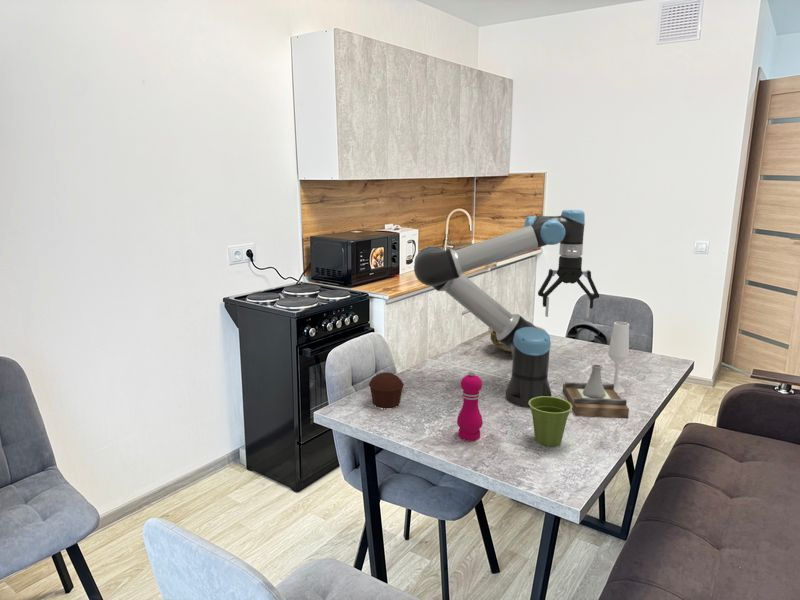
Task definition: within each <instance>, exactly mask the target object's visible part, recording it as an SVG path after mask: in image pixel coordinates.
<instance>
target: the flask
mask: <svg viewBox="0 0 800 600" xmlns="http://www.w3.org/2000/svg"><path fill="white" fill-rule="evenodd" d="M591 368H592V369H591V373H590V377H589V379H588V381H587V382H586V383H587V384H586V386H585V388H584V390H583V393H584V395H586V396H589V397H593V398H603V397H605V396H606V394H605V391H604V387H603V384H604V383H603V380H602V373H601V372H602V368H603V366H602V365H601V364H597V363H593V364H591Z"/></svg>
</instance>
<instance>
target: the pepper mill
mask: <svg viewBox="0 0 800 600" xmlns="http://www.w3.org/2000/svg"><path fill="white" fill-rule="evenodd" d="M482 387H483V381H482V379H481V377H479V376H478V375H476V372H475V371H474V370H473V369H470V370H469V371H468V374H466V375H465V376H463V377H462V378H461V380H460V388H461V389H462V391H461V396H462V398H463V403H462V406H461V409H460V412H459V413H458V415H457V418H456V419H457V420H456V424H457V426H458V427H459V428H458V431H457V433H458V437H459V439H461V440H464V441H467V440H468V442H473V441H478V440H479V439H480V438H481V430H480V429H481V428H482V427H483V417H482V414H481V412H480V408H479V399H480V398H481V392H480V391H481V390H482ZM477 439H478V440H477Z"/></svg>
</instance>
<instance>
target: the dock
mask: <svg viewBox="0 0 800 600" xmlns="http://www.w3.org/2000/svg"><path fill="white" fill-rule="evenodd" d="M586 384H587V382H568V381H567V382H564V383H562V391H561V392H562V393H563V396H564V398H565V400H566V401H568V402H570V403H571V404H572V410H571V411H573V414H574V415H575V416H576V417H594V418H598V417H599V418H617V419H618V418H621V419H629V413H630V408H629V406H628V405H627V403H628V401H627V399H626V398H625V399H624V398H623V399H622V398H621V397H620V396H619V393H616V392H615V391H614V385H613V384H614V383H602V384H603V387H604V391H605V394H606V396H605V397H603V398H593V397H589V396H586V395H584V393H583V390H584V388H585V386H586Z"/></svg>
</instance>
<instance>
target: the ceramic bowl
mask: <svg viewBox="0 0 800 600" xmlns="http://www.w3.org/2000/svg"><path fill="white" fill-rule="evenodd" d="M534 326H535V327H536V328H539V329H541V330H544V331H546V329H545V328H542V327H539V326H536V325H534ZM488 331H489V333H490V340H491V342H492V343H493V344H494V345H495V346H496V347H497V348H499V349H502V350H503V351H505V353H506V352H507V353H506V354H508V353H509V354H508V355H511V354H512V353H511V351H510V350H509V349H508V348H507V347H506V346H505V345H503V344H502V343H501V342H500V341H498V340H497V335H496V333H495V332H494V331H493V330H492V329H491V328H489V327H488Z"/></svg>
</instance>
